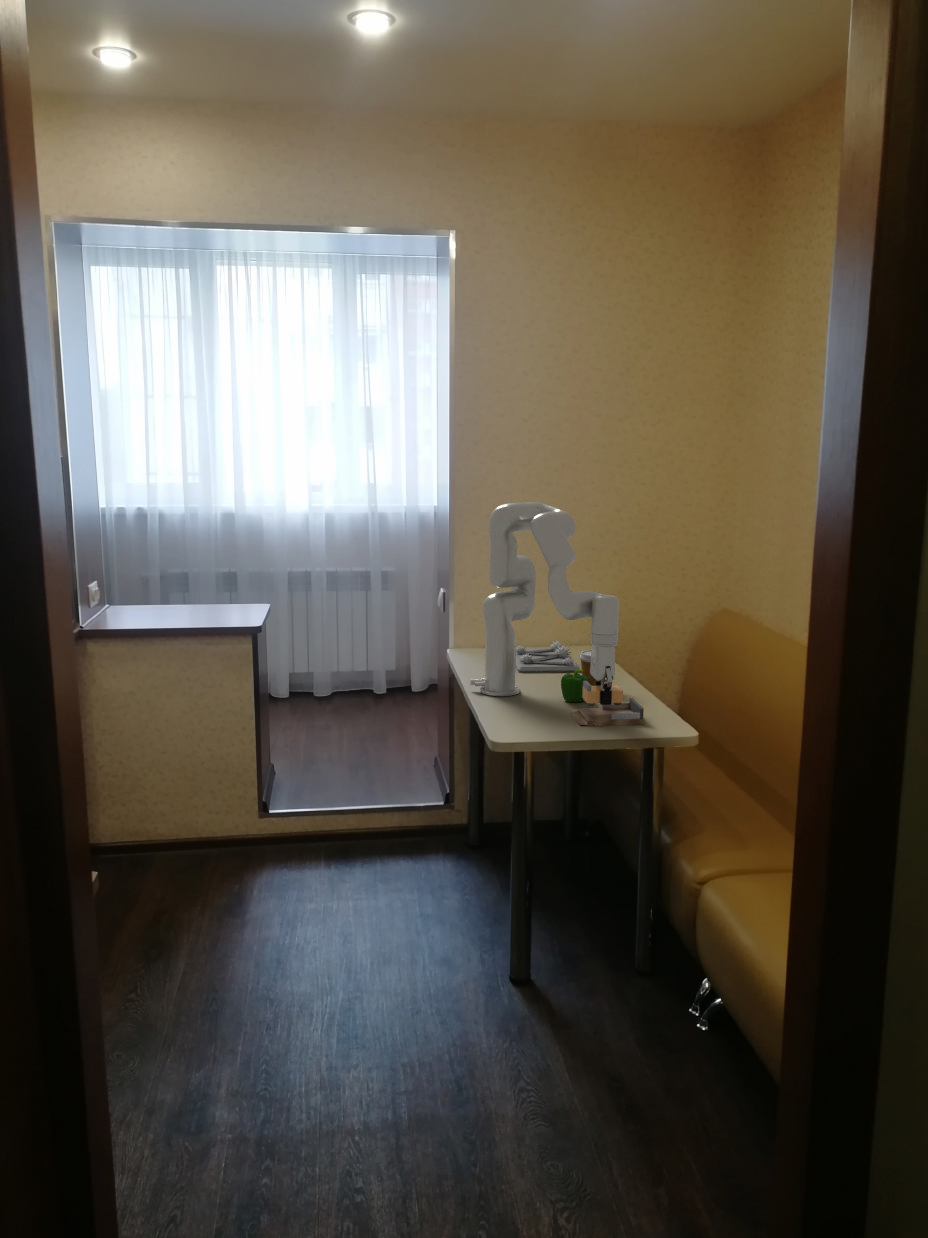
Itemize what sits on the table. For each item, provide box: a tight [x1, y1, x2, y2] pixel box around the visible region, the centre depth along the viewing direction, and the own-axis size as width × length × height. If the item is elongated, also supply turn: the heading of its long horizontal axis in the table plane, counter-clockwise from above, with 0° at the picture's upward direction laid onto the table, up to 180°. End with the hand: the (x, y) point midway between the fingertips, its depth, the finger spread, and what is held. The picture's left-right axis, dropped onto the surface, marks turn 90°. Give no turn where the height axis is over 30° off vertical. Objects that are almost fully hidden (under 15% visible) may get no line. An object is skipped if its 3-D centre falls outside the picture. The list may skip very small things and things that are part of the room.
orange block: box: [582, 681, 624, 707], centre depth 264 cm, size 10×6×6 cm, turn 96°
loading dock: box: [570, 697, 645, 727], centre depth 265 cm, size 18×12×4 cm, turn 96°
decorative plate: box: [515, 641, 581, 673], centre depth 333 cm, size 30×22×7 cm
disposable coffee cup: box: [579, 649, 606, 686], centre depth 296 cm, size 10×10×12 cm
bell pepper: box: [560, 668, 589, 703], centre depth 284 cm, size 8×8×10 cm
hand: (602, 700), depth 264 cm, fingers closed on orange block, 6 cm apart
